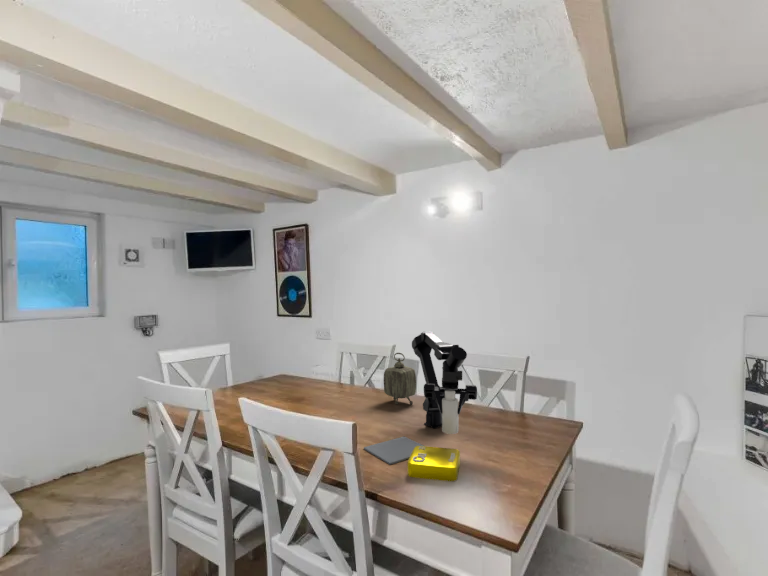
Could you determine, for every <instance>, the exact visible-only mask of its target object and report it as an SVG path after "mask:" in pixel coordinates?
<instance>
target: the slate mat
mask: <svg viewBox="0 0 768 576" xmlns="http://www.w3.org/2000/svg"><path fill="white" fill-rule="evenodd" d="M416 446H424V445H423V444H421V443H420V442H417V441H415V440H413V439H410V438H409V437H406V436H401V437H396V438H392V439H389V440H385V441H382V442H379V443H378V442H377V443H375V444H370V445H367V446H364V447H363V450H365V451H366V452H368V453H369V454H371V455H373V456H375V457H376V458H377V459H379V460H381V461H383V462H384V463H387V464H388V465H389V466H390V465H393V464H394V465H395V464H397V463H400V462H404V461H406V460H407V461H408V460H409V458H410V455H411V453H412V451H413V449H414V448H415V447H416Z"/></svg>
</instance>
